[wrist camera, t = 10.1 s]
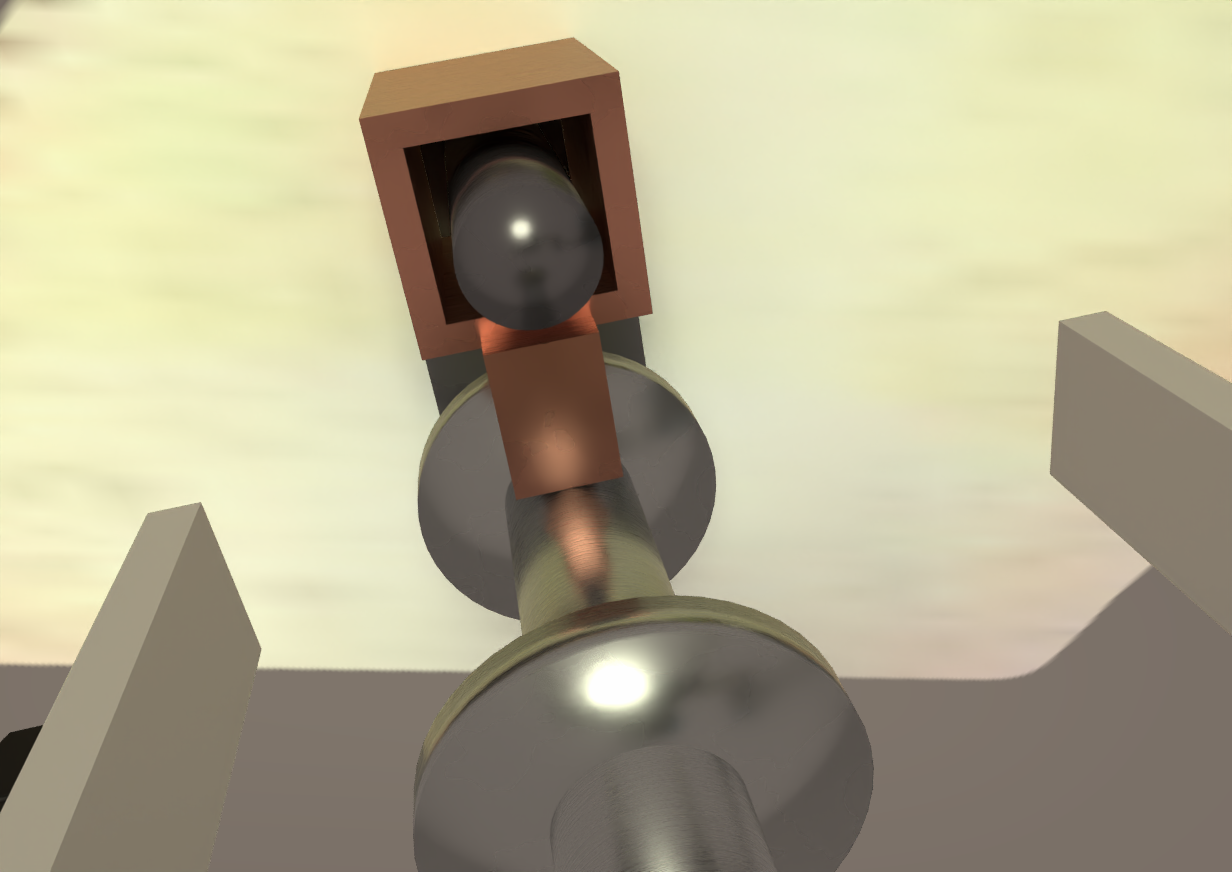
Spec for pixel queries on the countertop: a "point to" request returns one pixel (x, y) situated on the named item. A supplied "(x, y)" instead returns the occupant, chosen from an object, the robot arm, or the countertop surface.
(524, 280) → the dark grey cylinder
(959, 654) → the countertop surface
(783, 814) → the post with bracket
